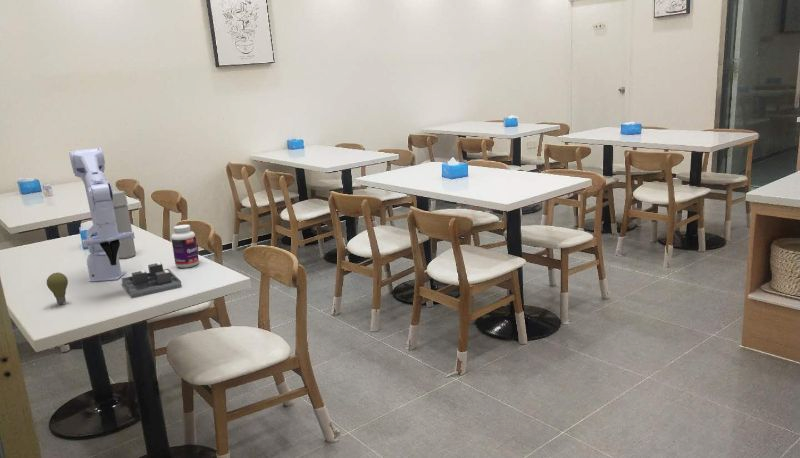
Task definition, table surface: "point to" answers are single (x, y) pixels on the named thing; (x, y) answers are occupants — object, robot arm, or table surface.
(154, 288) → the panel
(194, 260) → the pill bottle
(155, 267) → the breaker far
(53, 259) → the table surface
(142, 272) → the block
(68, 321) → the table surface
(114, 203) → the water bottle
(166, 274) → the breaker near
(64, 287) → the light bulb
